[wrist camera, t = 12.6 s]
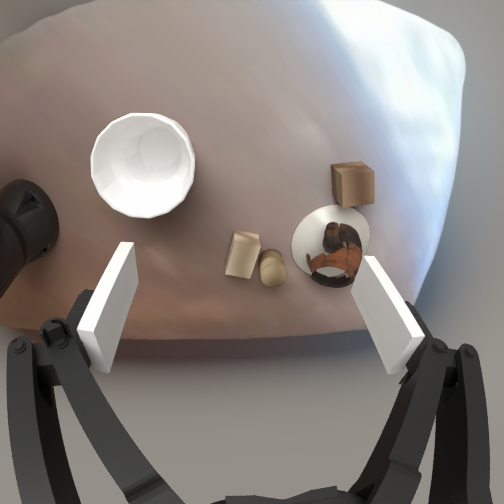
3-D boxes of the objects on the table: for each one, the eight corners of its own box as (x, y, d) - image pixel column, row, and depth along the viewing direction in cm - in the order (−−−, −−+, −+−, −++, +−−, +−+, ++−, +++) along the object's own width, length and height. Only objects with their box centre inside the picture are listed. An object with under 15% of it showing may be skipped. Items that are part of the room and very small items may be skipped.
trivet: (284, 274, 53) (285, 275, 52) (299, 200, 45) (299, 201, 45) (356, 276, 54) (357, 278, 54) (378, 209, 47) (379, 210, 47)
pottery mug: (366, 250, 51) (364, 290, 47) (317, 252, 56) (310, 290, 52) (356, 202, 43) (354, 247, 39) (298, 208, 47) (288, 249, 43)
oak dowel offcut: (257, 268, 52) (259, 286, 48) (259, 248, 50) (262, 265, 45) (280, 269, 52) (284, 287, 48) (283, 249, 50) (288, 266, 46)
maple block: (225, 260, 51) (225, 274, 47) (234, 229, 48) (234, 241, 44) (248, 264, 51) (249, 278, 48) (258, 234, 48) (260, 247, 45)
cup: (190, 196, 44) (179, 230, 35) (113, 175, 41) (84, 205, 32) (215, 116, 38) (209, 128, 29) (131, 96, 35) (100, 103, 26)
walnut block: (332, 194, 45) (342, 207, 41) (330, 164, 43) (341, 174, 39) (361, 190, 45) (373, 203, 41) (360, 161, 43) (374, 171, 38)
